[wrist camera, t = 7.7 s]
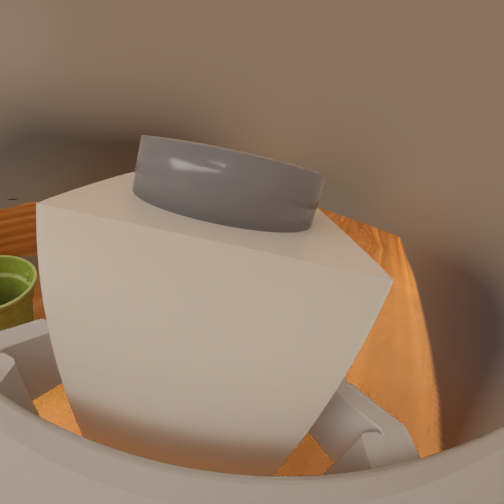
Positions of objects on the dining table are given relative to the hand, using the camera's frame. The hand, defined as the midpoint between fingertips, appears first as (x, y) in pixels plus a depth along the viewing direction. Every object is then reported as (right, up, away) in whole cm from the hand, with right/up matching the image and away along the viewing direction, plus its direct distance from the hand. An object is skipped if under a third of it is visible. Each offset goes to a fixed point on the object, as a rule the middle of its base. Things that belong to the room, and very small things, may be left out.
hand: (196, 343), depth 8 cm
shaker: (-1, -5, +1) cm, 6 cm away
